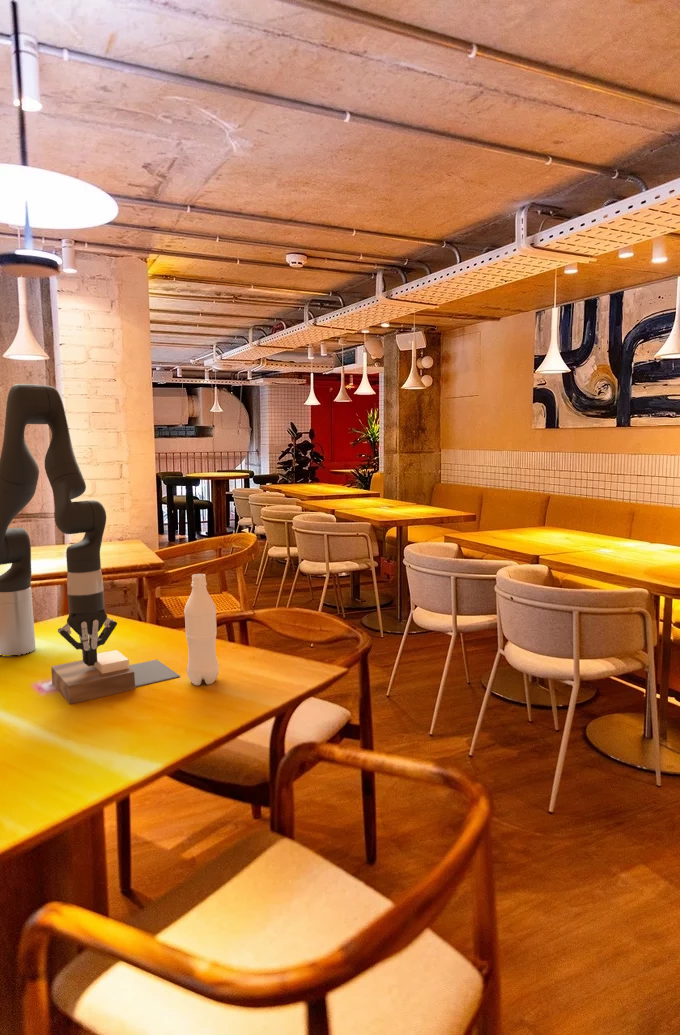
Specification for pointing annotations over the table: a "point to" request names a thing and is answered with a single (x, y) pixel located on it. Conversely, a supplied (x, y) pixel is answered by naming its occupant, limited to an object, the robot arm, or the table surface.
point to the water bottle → (201, 633)
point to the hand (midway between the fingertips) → (90, 664)
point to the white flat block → (111, 661)
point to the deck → (89, 681)
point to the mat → (151, 672)
